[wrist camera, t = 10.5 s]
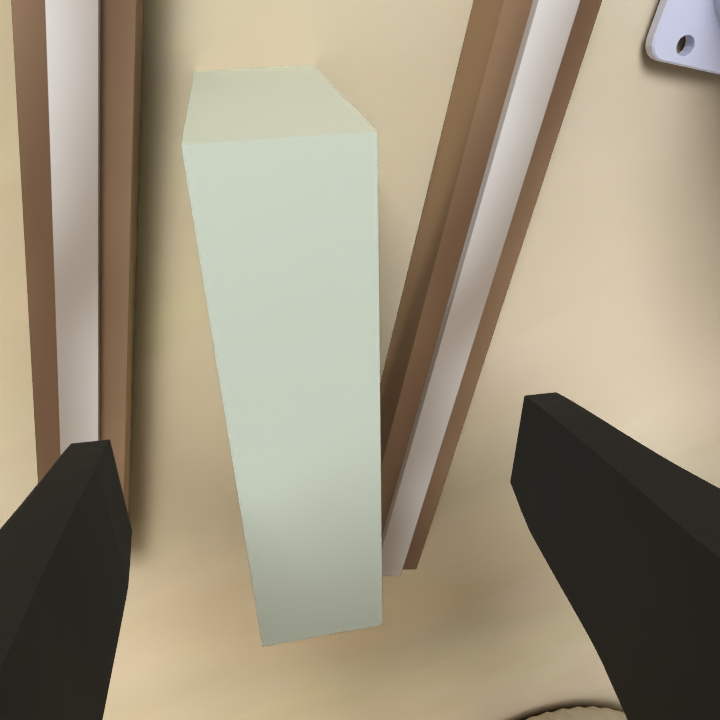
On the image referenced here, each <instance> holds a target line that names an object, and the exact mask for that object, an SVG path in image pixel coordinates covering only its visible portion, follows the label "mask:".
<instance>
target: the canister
mask: <svg viewBox="0 0 720 720" xmlns="http://www.w3.org/2000/svg"><path fill="white" fill-rule="evenodd" d="M526 720H627V718H626V715H625V713H624V712H622V711H617V710H613V709H610V708H606V707H605V708H598V707H594V706H591V707H586V708H583V707H579V706H578V707H573V708H571V709H564V708H562V709H559V710H557V711H554V712H545V713H543V714H541V715H538V716H532V717H530V718H528V719H526Z"/></svg>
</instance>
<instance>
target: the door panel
mask: <svg viewBox="0 0 720 720" xmlns="http://www.w3.org/2000/svg"><path fill="white" fill-rule="evenodd" d="M181 147H182V153H183V160H184V166H185V172H186V178H187V184H188V190H189V196H190V203H191V209H192V215H193V221H194V227H195V233H196V240H197V246H198V252H199V258H200V264H201V270H202V277H203V283H204V289H205V295H206V301H207V307H208V314H209V320H210V326H211V332H212V338H213V344H214V351H215V357H216V363H217V369H218V375H219V381H220V388H221V394H222V400H223V406H224V412H225V418H226V425H227V431H228V437H229V443H230V449H231V455H232V462H233V468H234V474H235V480H236V486H237V492H238V499H239V505H240V511H241V517H242V523H243V529H244V536H245V542H246V548H247V554H248V560H249V566H250V573H251V579H252V585H253V591H254V597H255V603H256V609H257V616H258V622H259V628H260V634H261V640H262V646H269V645H274V644H280V643H285V642H291V641H296V640H302V639H307V638H313V637H318V636H324V635H330V634H335V633H341V632H346V631H352V630H357V629H363V628H368V627H374V626H379V625H382V544H381V444H380V345H379V246H378V146H377V130H376V129H375V128H374V127H373V126H372V125H371V124H370V123H369V122H368V121H367V120H366V119H365V118H364V117H363V116H362V115H361V114H360V113H359V112H358V111H357V110H356V109H355V108H354V107H353V106H352V104H351V103H350V102H349V101H348V100H347V99H346V98H345V97H344V96H343V95H342V94H341V93H340V92H339V91H338V90H337V89H336V88H335V87H334V86H333V85H332V84H331V83H330V82H329V81H328V79H327V78H326V77H325V76H324V75H323V74H322V73H321V72H320V71H319V70H318V69H317V68H316V67H315V66H314V65H298V66H279V67H260V68H240V69H221V70H202V71H194V77H193V82H192V88H191V93H190V99H189V104H188V110H187V115H186V121H185V126H184V132H183V137H182V143H181Z"/></svg>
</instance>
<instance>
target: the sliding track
mask: <svg viewBox="0 0 720 720" xmlns="http://www.w3.org/2000/svg"><path fill="white" fill-rule="evenodd" d="M601 2H602V0H474V3H473V7H472V11H471V15H470V19H469V23H468V27H467V31H466V35H465V39H464V44H463V48H462V52H461V56H460V60H459V64H458V68H457V72H456V76H455V80H454V85H453V89H452V93H451V97H450V101H449V105H448V109H447V113H446V117H445V121H444V126H443V130H442V134H441V138H440V142H439V146H438V150H437V154H436V158H435V163H434V167H433V171H432V175H431V179H430V183H429V187H428V191H427V195H426V199H425V204H424V208H423V212H422V216H421V220H420V224H419V228H418V232H417V236H416V240H415V245H414V249H413V253H412V257H411V261H410V265H409V269H408V273H407V277H406V281H405V286H404V290H403V294H402V298H401V302H400V306H399V310H398V314H397V318H396V322H395V327H394V331H393V335H392V339H391V343H390V347H389V351H388V355H387V359H386V363H385V368H384V372H383V376H382V380H381V384H380V444H381V544H382V576H400V575H401V572H402V569H416V568H417V565H418V562H419V559H420V556H421V553H422V550H423V547H424V544H425V541H426V538H427V535H428V532H429V529H430V525H431V522H432V519H433V516H434V513H435V510H436V507H437V504H438V501H439V498H440V495H441V492H442V489H443V486H444V483H445V480H446V477H447V473H448V470H449V467H450V464H451V461H452V458H453V455H454V452H455V449H456V446H457V443H458V440H459V437H460V434H461V431H462V428H463V424H464V421H465V418H466V415H467V412H468V409H469V406H470V403H471V400H472V397H473V394H474V391H475V388H476V385H477V382H478V379H479V376H480V372H481V369H482V366H483V363H484V360H485V357H486V354H487V351H488V348H489V345H490V342H491V339H492V336H493V333H494V330H495V327H496V323H497V320H498V317H499V314H500V311H501V308H502V305H503V302H504V299H505V296H506V293H507V290H508V287H509V284H510V281H511V278H512V275H513V271H514V268H515V265H516V262H517V259H518V256H519V253H520V250H521V247H522V244H523V241H524V238H525V235H526V232H527V229H528V226H529V222H530V219H531V216H532V213H533V210H534V207H535V204H536V201H537V198H538V195H539V192H540V189H541V186H542V183H543V180H544V177H545V174H546V170H547V167H548V164H549V161H550V158H551V155H552V152H553V149H554V146H555V143H556V140H557V137H558V134H559V131H560V128H561V125H562V121H563V118H564V115H565V112H566V109H567V106H568V103H569V100H570V97H571V94H572V91H573V88H574V85H575V82H576V79H577V76H578V73H579V69H580V66H581V63H582V60H583V57H584V54H585V51H586V48H587V45H588V42H589V39H590V36H591V33H592V30H593V27H594V24H595V20H596V17H597V14H598V11H599V8H600V5H601ZM11 6H12V24H13V42H14V60H15V78H16V95H17V113H18V131H19V149H20V167H21V185H22V203H23V221H24V239H25V257H26V275H27V293H28V310H29V328H30V346H31V364H32V382H33V400H34V418H35V436H36V454H37V472H38V483H39V482H40V481H41V479H42V478H43V477H44V476H45V474H46V473H47V472H48V471H49V469H50V468H51V467H52V466H53V464H54V463H55V462H56V461H57V459H58V458H59V457H60V456H61V454H62V453H63V452H64V451H65V450H66V448H67V447H68V446H69V445H70V444H71V443H80V442H90V441H99V440H109V439H110V441H111V446H112V450H113V454H114V458H115V462H116V466H117V471H118V475H119V479H120V483H121V487H122V491H123V495H124V500H125V504H126V508H127V512H128V516H129V488H130V455H131V422H132V389H133V357H134V324H135V291H136V258H137V225H138V192H139V159H140V126H141V93H142V60H143V27H144V0H11Z"/></svg>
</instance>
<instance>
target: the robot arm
mask: <svg viewBox="0 0 720 720" xmlns="http://www.w3.org/2000/svg"><path fill="white" fill-rule="evenodd" d="M683 36H685V39H686V43H685V47H684V48H683V50H682V51H681V52H680V53H677V50H676V47H677V43H678V41H679V40H680V38H682V37H683ZM645 46H646V52H647V54H648V55H649V57H650V58H652V59H654V60H656V61H661V62H665V63H670V64H674V65H679V66H683V67H688V68H692V69H697V70H701V71H706V72H710V73H715V74H719V75H720V0H660V3H659V5H658V8H657V11H656V14H655V16H654V19H653V22H652V24H651V27H650V30H649V33H648V35H647V39H646V44H645ZM511 485H512V487H513V490H514V493H515V495H516V498H517V501H518V503H519V506H520V509H521V511H522V513H523V516H524V518H525V521H526V523H527V526H528V528H529V530H530V532H531V534H532V536H533V538H534V540H535V541H536V543H537V545H538V547H539V549H540V550H541V552H542V554H543V556H544V558H545V559H546V561H547V563H548V565H549V567H550V568H551V570H552V572H553V574H554V576H555V577H556V579H557V581H558V583H559V584H560V586H561V588H562V590H563V591H564V593H565V595H566V597H567V598H568V600H569V602H570V604H571V605H572V607H573V609H574V611H575V613H576V614H577V616H578V618H579V620H580V621H581V623H582V625H583V627H584V628H585V630H586V632H587V634H588V635H589V637H590V639H591V641H592V643H593V645H594V647H595V649H596V651H597V653H598V655H599V657H600V659H601V661H602V663H603V665H604V667H605V670H606V672H607V674H608V677H609V679H610V681H611V683H612V686H613V688H614V690H615V692H616V695H617V697H618V699H619V701H620V704H621V706H622V708H623V711H624V713H625V715H626V718H627V720H720V488H718V487H716V486H714V485H712V484H710V483H708V482H707V481H705V480H703V479H701V478H699V477H697V476H696V475H694V474H692V473H690V472H688V471H686V470H685V469H683V468H681V467H679V466H678V465H676V464H674V463H672V462H671V461H669V460H667V459H665V458H664V457H662V456H660V455H659V454H657V453H655V452H654V451H652V450H650V449H649V448H647V447H645V446H644V445H642V444H640V443H639V442H637V441H635V440H634V439H632V438H631V437H629V436H627V435H626V434H624V433H623V432H621V431H619V430H618V429H616V428H615V427H613V426H611V425H610V424H608V423H607V422H605V421H603V420H602V419H600V418H599V417H597V416H595V415H594V414H592V413H591V412H589V411H587V410H586V409H584V408H582V407H581V406H579V405H577V404H576V403H574V402H572V401H571V400H569V399H567V398H565V397H564V396H562V395H560V394H558V393H546V394H537V395H527V396H524V402H523V408H522V414H521V420H520V426H519V433H518V439H517V445H516V451H515V457H514V463H513V469H512V475H511ZM131 536H132V529H131V525H130V520H129V516H128V512H127V508H126V504H125V500H124V495H123V491H122V487H121V483H120V479H119V475H118V471H117V466H116V462H115V458H114V454H113V450H112V446H111V441H110V439H109V440H99V441H90V442H80V443H71V444H70V445H69V446H68V447H67V448H66V450H65V451H64V452H63V453H62V454H61V456H60V457H59V458H58V459H57V461H56V462H55V463H54V464H53V466H52V467H51V468H50V469H49V471H48V472H47V473H46V474H45V476H44V477H43V478H42V479H41V481H40V482H39V483H38V484H37V486H36V487H35V488H34V489H33V491H32V492H31V493H30V494H29V495H28V497H27V498H26V499H25V500H24V502H23V503H22V504H21V505H20V506H19V508H18V509H17V510H16V511H15V512H14V514H13V515H12V516H11V517H10V518H9V519H8V521H7V522H6V523H5V524H4V525H3V526H2V528H1V529H0V720H102V719H103V714H104V709H105V704H106V699H107V694H108V688H109V683H110V678H111V673H112V668H113V663H114V658H115V653H116V648H117V643H118V638H119V632H120V627H121V622H122V617H123V611H124V606H125V601H126V595H127V590H128V582H129V568H130V553H131Z"/></svg>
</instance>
